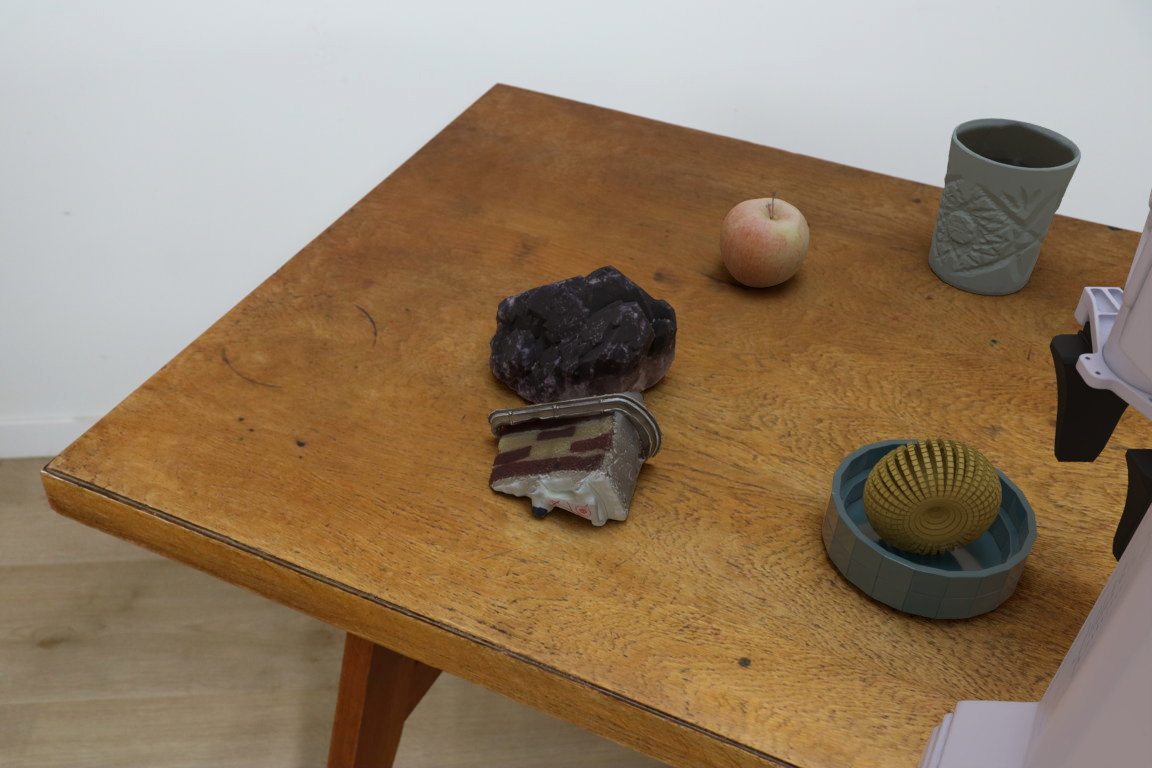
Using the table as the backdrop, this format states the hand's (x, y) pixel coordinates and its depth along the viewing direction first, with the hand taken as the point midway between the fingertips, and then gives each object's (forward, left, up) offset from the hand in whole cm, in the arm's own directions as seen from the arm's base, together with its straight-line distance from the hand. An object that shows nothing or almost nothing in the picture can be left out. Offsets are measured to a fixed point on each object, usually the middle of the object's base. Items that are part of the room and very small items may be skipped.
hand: (1102, 505), depth 59 cm
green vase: (+40, -10, -10) cm, 42 cm away
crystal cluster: (+25, +26, -10) cm, 37 cm away
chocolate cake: (+12, +28, -10) cm, 32 cm away
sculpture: (+6, +6, -9) cm, 13 cm away
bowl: (+6, +6, -9) cm, 13 cm away
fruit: (+38, +10, -10) cm, 40 cm away
